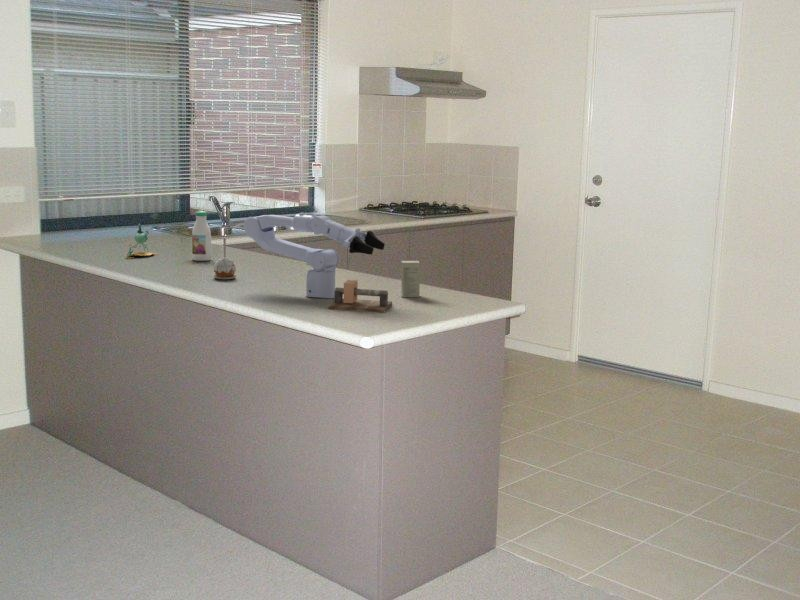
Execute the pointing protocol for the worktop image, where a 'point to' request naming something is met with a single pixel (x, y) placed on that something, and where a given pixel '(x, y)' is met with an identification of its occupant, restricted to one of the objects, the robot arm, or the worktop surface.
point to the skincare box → (410, 278)
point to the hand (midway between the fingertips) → (378, 249)
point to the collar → (350, 291)
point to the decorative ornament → (224, 267)
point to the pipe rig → (362, 301)
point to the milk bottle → (201, 238)
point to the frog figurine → (140, 239)
